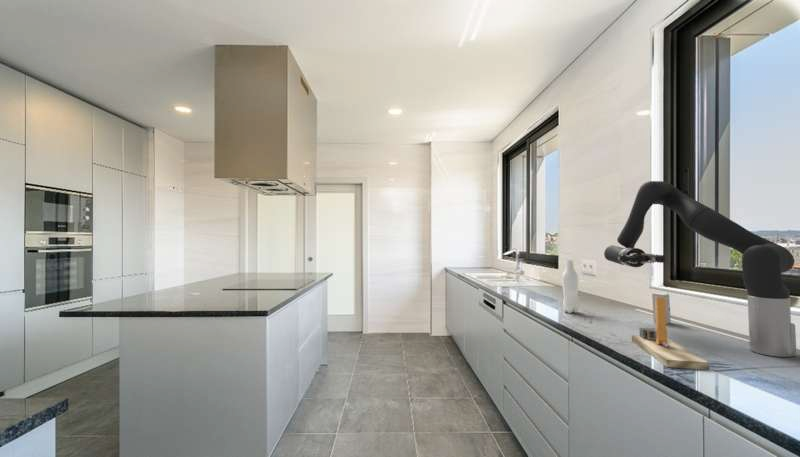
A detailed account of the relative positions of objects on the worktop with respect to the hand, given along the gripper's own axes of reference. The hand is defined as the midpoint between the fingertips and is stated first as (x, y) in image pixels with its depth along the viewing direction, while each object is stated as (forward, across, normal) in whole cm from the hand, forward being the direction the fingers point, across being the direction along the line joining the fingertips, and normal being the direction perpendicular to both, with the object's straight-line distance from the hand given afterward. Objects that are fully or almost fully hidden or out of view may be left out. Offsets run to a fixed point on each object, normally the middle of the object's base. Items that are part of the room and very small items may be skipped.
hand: (648, 259), depth 130 cm
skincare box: (-27, +14, +28) cm, 41 cm away
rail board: (+18, -3, +28) cm, 33 cm away
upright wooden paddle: (+15, -3, +26) cm, 30 cm away
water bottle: (-43, -18, +28) cm, 54 cm away
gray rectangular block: (+9, -3, +26) cm, 28 cm away
